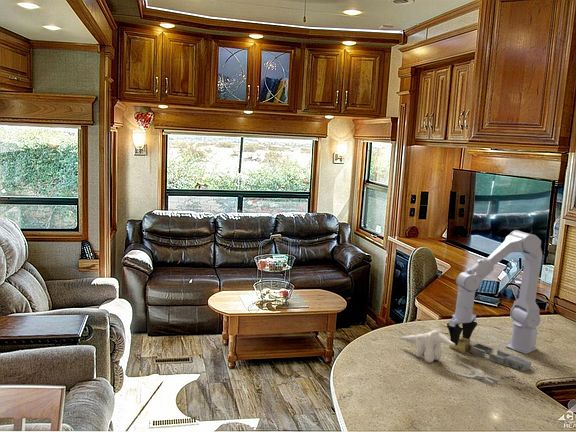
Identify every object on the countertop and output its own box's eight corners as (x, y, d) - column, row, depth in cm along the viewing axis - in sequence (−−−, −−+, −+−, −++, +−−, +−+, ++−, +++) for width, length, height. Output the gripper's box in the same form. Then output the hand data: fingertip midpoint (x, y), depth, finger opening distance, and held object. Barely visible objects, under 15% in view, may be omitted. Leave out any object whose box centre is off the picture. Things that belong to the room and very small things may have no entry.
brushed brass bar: (453, 346, 191) (455, 334, 190) (468, 351, 186) (470, 339, 185) (449, 347, 189) (450, 335, 188) (464, 353, 184) (465, 341, 184)
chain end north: (498, 355, 184) (498, 349, 184) (531, 368, 175) (532, 361, 175) (488, 359, 180) (489, 353, 179) (523, 372, 171) (524, 365, 170)
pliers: (462, 360, 174) (504, 377, 163) (462, 364, 175) (504, 382, 163) (445, 366, 168) (487, 384, 157) (444, 370, 169) (486, 389, 157)
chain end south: (462, 342, 194) (463, 336, 194) (492, 353, 185) (493, 347, 185) (453, 346, 190) (453, 339, 190) (483, 357, 181) (484, 351, 181)
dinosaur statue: (447, 370, 166) (448, 336, 165) (390, 351, 185) (391, 320, 184) (460, 366, 170) (461, 333, 169) (403, 347, 189) (404, 317, 189)
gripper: (465, 300, 193) (460, 335, 195) (443, 305, 183) (438, 342, 185) (483, 305, 188) (478, 341, 189) (461, 311, 178) (456, 349, 180)
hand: (459, 342), depth 187 cm, fingers open, 7 cm apart
